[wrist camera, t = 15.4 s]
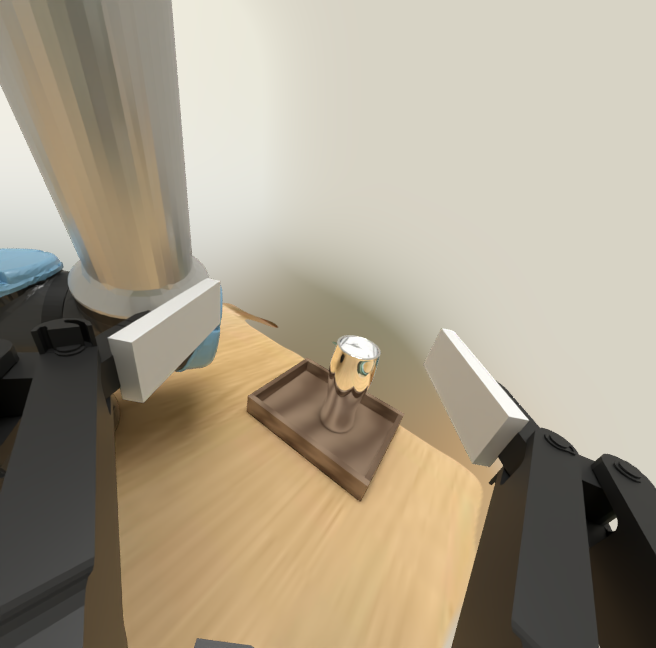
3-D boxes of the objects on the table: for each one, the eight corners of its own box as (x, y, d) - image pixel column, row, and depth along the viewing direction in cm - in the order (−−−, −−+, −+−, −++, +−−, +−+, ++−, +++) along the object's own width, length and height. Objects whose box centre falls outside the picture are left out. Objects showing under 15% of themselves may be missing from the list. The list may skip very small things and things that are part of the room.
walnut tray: (246, 411, 42) (247, 396, 40) (304, 370, 54) (307, 357, 53) (360, 501, 32) (367, 486, 31) (398, 427, 45) (404, 413, 44)
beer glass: (338, 398, 47) (358, 331, 41) (364, 424, 43) (391, 353, 36) (309, 411, 43) (326, 338, 36) (334, 442, 38) (359, 365, 32)
